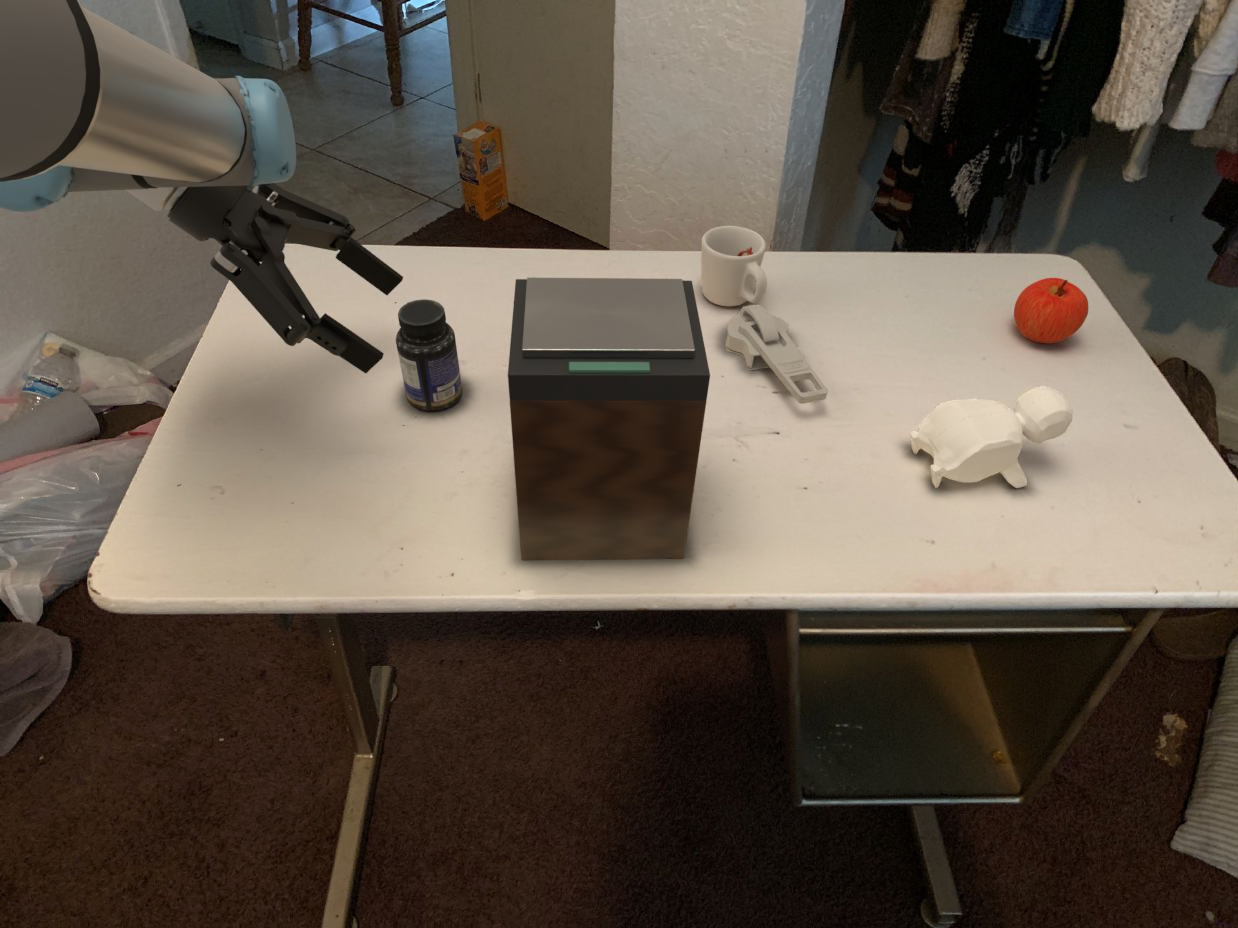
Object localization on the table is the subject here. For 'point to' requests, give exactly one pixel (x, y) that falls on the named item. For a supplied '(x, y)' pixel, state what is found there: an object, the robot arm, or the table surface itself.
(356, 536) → the table surface
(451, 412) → the table surface
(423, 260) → the table surface
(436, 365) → the pill bottle
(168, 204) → the robot arm
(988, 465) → the white turtle figurine
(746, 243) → the cup
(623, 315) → the scale
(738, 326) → the zipper pull
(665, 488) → the stand
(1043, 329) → the apple
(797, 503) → the table surface
